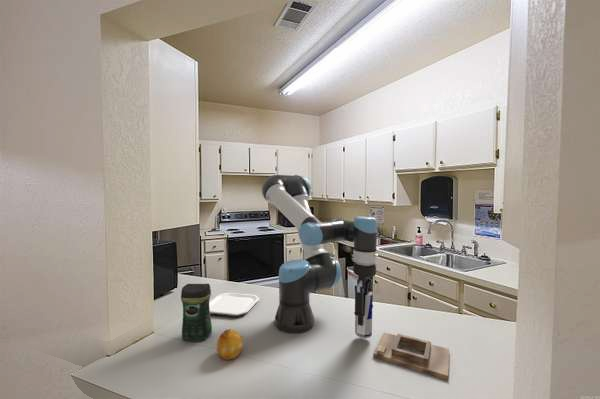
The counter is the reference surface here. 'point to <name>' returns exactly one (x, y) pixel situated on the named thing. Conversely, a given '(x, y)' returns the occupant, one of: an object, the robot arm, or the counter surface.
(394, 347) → the socket plate
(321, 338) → the counter surface
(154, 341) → the counter surface
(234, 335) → the fruit
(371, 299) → the beverage can
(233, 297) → the plate
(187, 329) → the coffee jar
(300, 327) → the robot arm
